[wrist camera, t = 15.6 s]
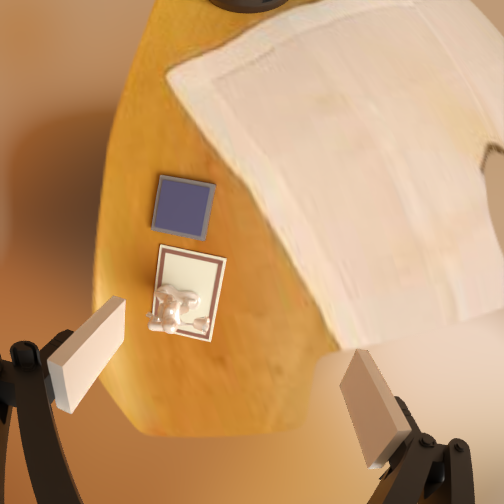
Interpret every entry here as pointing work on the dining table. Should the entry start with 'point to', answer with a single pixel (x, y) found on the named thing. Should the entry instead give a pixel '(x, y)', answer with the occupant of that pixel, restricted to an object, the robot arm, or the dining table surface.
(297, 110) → the dining table surface
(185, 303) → the figurine
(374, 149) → the dining table surface
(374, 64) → the dining table surface
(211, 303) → the print sheet
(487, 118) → the dining table surface
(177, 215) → the ink pad
